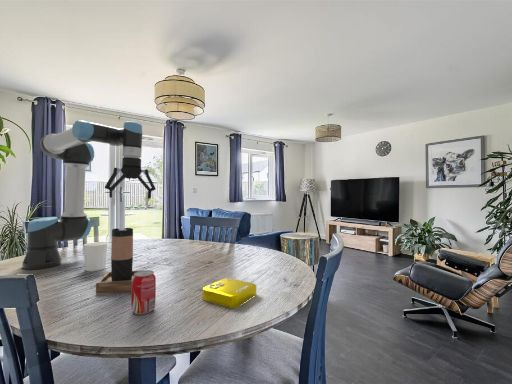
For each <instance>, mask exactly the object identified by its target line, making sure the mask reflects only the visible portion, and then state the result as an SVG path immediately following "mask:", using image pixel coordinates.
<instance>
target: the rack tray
mask: <svg viewBox="0 0 512 384" xmlns="http://www.w3.org/2000/svg"><path fill="white" fill-rule="evenodd" d="M143 270H144V269H142V270H138V269H137V270H132V278H133V277H134V273H135V272H138V271H143ZM131 286H132V279H131V280H127V281H112V275H111V271H107V272H106V273H105V274H104V275H102V277H101V278H99V280H98V281H97V282H96V283H95V295H102V294H118V293H119V294H121V293H131Z"/></svg>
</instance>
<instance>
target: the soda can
mask: <svg viewBox="0 0 512 384" xmlns="http://www.w3.org/2000/svg"><path fill="white" fill-rule="evenodd" d="M142 270H143V271H138V272H135V273H134V277H133V278H132V286H131V292H130V294H131V295H130V297H131V298H130V307H131V308H130V309H131V312H132V313H133V314H135V315H147V314H149V313H151V312H152V311H154V309H155V307H156V295H157V294H156V293H157V292H156V291H157V287H156V286H157V282H156V281H157V280H156V279H157V278H156V275H155V274H154V273H155V272H154V271H153V270H148V269H147V270H144V269H142Z"/></svg>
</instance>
